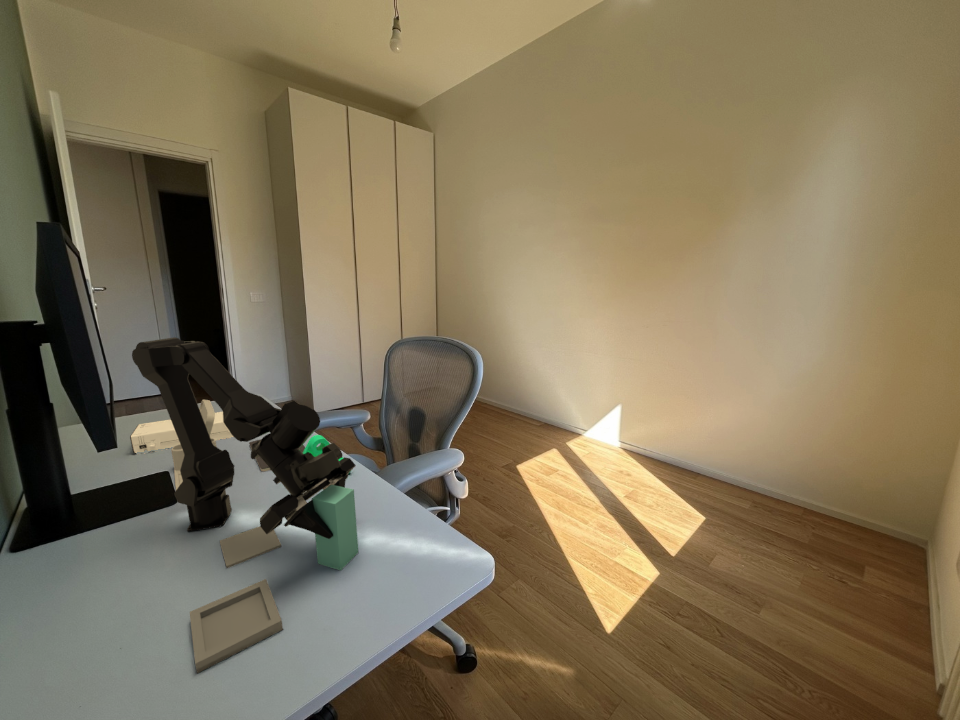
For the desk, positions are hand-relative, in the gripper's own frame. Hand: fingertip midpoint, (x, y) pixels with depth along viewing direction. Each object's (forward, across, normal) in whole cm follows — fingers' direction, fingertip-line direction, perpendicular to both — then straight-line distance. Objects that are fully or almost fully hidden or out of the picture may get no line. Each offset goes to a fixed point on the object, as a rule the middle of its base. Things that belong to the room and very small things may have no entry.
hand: (342, 527), depth 71 cm
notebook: (-28, +30, +39) cm, 57 cm away
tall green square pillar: (+4, 0, +6) cm, 7 cm away
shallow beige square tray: (0, -17, +9) cm, 19 cm away
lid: (-9, -3, +19) cm, 22 cm away
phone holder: (-35, +13, +45) cm, 59 cm away
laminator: (-50, +31, +61) cm, 85 cm away
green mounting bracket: (-13, +23, +23) cm, 35 cm away
